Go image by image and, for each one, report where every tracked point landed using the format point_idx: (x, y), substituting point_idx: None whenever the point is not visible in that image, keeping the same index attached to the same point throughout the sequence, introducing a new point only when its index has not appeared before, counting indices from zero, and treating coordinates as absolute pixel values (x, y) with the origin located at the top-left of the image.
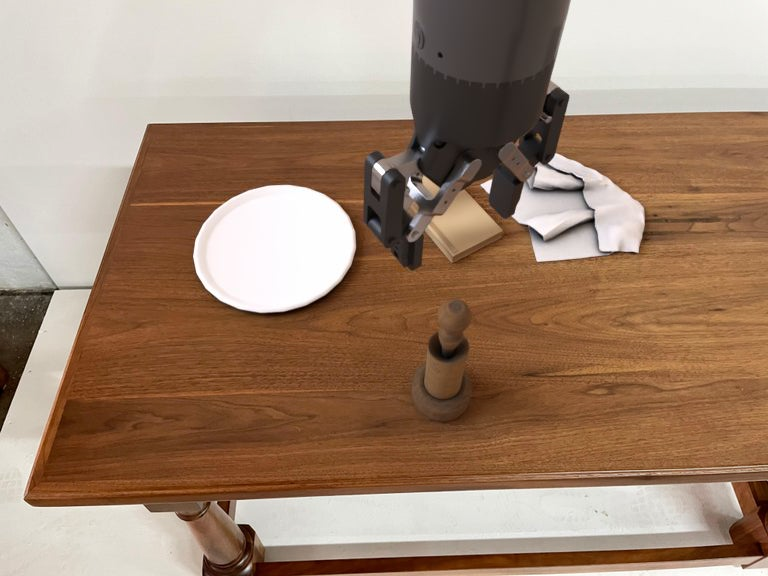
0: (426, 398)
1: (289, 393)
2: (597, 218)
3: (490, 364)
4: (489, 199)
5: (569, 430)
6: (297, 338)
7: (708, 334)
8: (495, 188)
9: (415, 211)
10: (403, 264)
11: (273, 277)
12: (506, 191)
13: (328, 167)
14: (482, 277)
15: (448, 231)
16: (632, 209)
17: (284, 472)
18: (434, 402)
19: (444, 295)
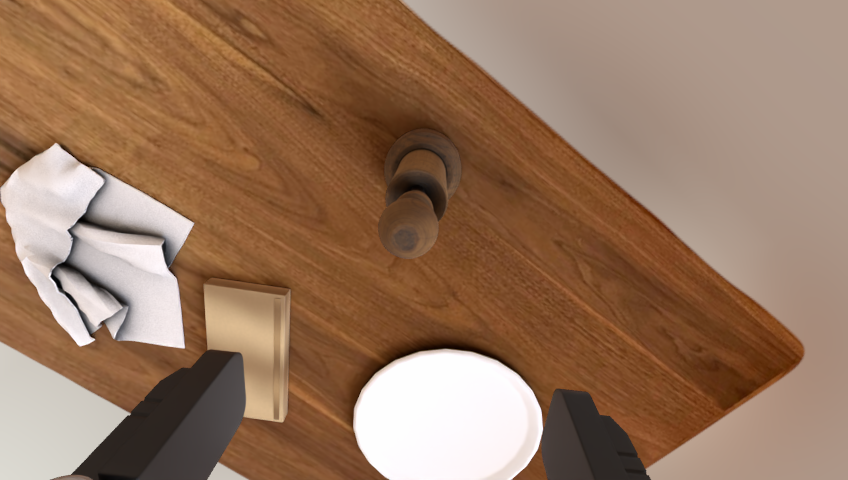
0: (453, 170)
1: (557, 280)
2: (73, 218)
3: (345, 155)
4: (237, 424)
5: (324, 14)
6: (504, 325)
7: None
8: (204, 464)
9: (282, 369)
10: (620, 432)
11: (475, 398)
12: (182, 452)
13: (328, 466)
14: (270, 251)
15: (266, 325)
16: (17, 197)
17: (627, 211)
18: (449, 159)
19: (328, 262)
